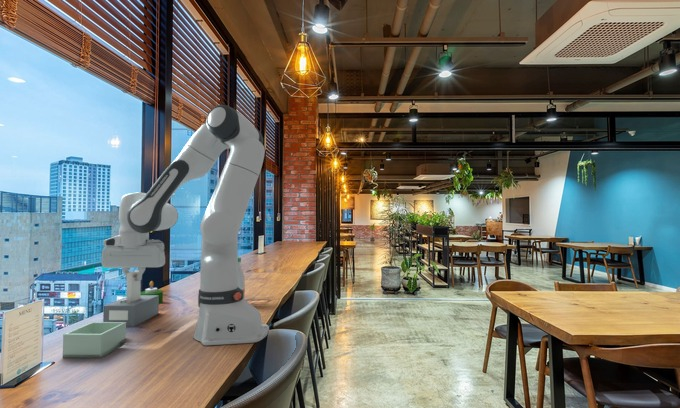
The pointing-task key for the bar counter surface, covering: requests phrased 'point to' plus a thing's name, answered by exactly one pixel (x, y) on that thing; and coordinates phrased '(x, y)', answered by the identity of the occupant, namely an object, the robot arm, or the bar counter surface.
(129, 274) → the pale bar
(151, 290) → the candle
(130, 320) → the block
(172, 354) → the bar counter surface
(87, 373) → the bar counter surface
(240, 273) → the milk bottle
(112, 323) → the stub box
